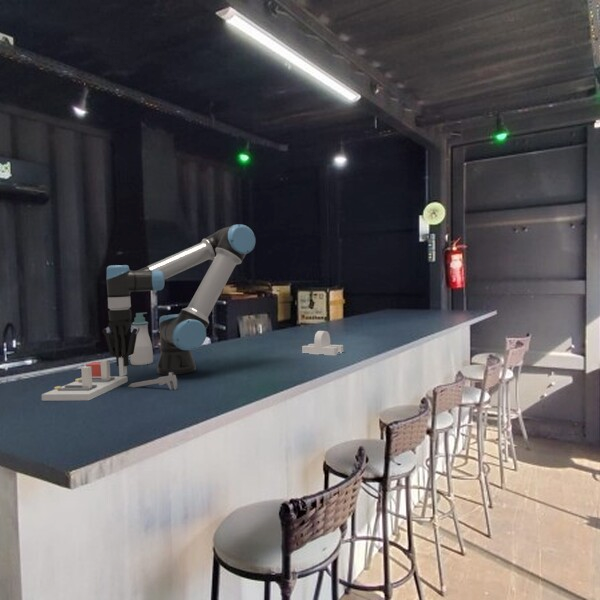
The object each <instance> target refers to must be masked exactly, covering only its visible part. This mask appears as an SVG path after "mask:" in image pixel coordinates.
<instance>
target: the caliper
mask: <svg viewBox="0 0 600 600" xmlns="http://www.w3.org/2000/svg"><path fill="white" fill-rule="evenodd" d="M156 384H158V386H162V385H166V384H167V386H168V388H169V390H170V391H173V390H174V391H177V389H178V379H177V375H174V373H173V372H170V373H169V375H164V376H160V377H157V378H155V379H149V380H143V381H137V382H133V383H130V384H129V385H128V386H127V387H131V388H138V387H143V386H149V385H156Z"/></svg>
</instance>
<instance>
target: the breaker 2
mask: <svg viewBox="0 0 600 600" xmlns="http://www.w3.org/2000/svg"><path fill="white" fill-rule="evenodd" d="M99 362H101V379H102V380H110V379H111V377H112V376H111V364H110V362H111V361H110V359H103V360H100V361H99Z"/></svg>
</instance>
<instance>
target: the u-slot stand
mask: <svg viewBox="0 0 600 600" xmlns="http://www.w3.org/2000/svg"><path fill="white" fill-rule="evenodd" d="M301 348H302V349H301V352H302V354H303V353H309V354H308V355H319V354H324V356H338V355H339V354H343V353H344V345H343V344H331V336H330V333H329V331H328V330H318V331H316V332H315V334H314V340H313V343H308V344H307V345H302V346H301ZM338 352H340V353H338ZM342 352H343V353H342ZM337 354H338V355H337Z"/></svg>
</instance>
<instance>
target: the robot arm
mask: <svg viewBox="0 0 600 600" xmlns="http://www.w3.org/2000/svg"><path fill="white" fill-rule="evenodd" d="M255 245H256V235H255V234H254V232H253V230H252V229H251V228H250V227H249V226H247V225H245V224H233V225H230V226H228V227H223V228H221V229H218V230H217V231H215V232H214V233H213V234H210V235H209V236H207V237H204V238H203V239H202V240H201V242H199V243H197V244H194V245H192V246H191V247H188V248H185V249H183V250H181V251H179V252H177V253H175V254H172V255H170V256H167V257H165V258H164V259H163V258H162V259H161V260H159V261H156V262H153V263H151V264H149V265H147V266H145V267H142V268H140V269H138V270H131V269H130V266H129V265H127V264H123V265H119V264H118V265H117V264H115V265H114V264H113V265H108V266H107V267H106V289H107V290H106V291H107V309H109V310H108V311H107V314H108V321H109V322H108V326H107V327H106V328H103V329H102V331H101V332H102V333H103V335H104V337H105V341H106V344H107V347H108V351H109V354H110V356H113V357H115V359H116V361H115V362H116V367H118V374H119V376H118V377H120V376H126V375H128V368H127V367H128V366H129V363H130V362H129V360H130V355H132V354H133V353H134V348H135V343H136V337H137V333H138V332H139V328H136V327H134V326H133V324H132V323H133V322H132V309H131V307H132V304H131V303H132V302H131V293H132V292H156V291H162V290H163V289H164V287H165V280H167V279H169V278H171V277H173V276H175V275H178V274H180V273H182V272H184V271H186V270H188V269H191V268H193V267H195V266H197V265H200V264H202V263H204V262H206V261H208V260H211V261H212V262H211V264H210V266H209V268H208V269H207V271H206V273H205V275H204V276H203V279H202V280H201V282H200V284H199V286H198V287H197V290H196V291H195V293H194V295H193V297H192V298H191V300H190V302H189V304H188V305H187V307H185V308H182V309H181V311H180V312H179V313H177V314H176V313H175V314H168V315H166V314H165V315H162V316H160V317H159V321H158V322H159V323H158V326H159V341H160V342H159V343H160V346H159V347H160V355H159V359H158V364H157V365H156V366H157V368H156V373H157V374H158V375H164V376H169V373H170V372H173V373H174V375H176V376H177V375H183V374H189V373H193V372H195V371H196V370H197V369H196V362H195V360H194V357H193V354H192V352H191V351H193V350H196V349H197V350H198V348H200V347H201V346H202V345H203V344H204V342H205V341H206V338H207V329H208V326H209V324H210V321H209V316H210V315H211V312H212V311H213V310H214V309H213V308H214V307H215V305H216V303H217V301H218V300H219V297H220V296H221V294H222V291H223V289H224V288H225V287H226V284H227V283H228V280H229V278H230V277H231V275H232V273H233V271H234V269H235V267H236V266H237V265H241V264H242V263H243V260H244V259H245V257H246V255H247V254H249V253H251V252H252V251H253V250H254V249H255ZM129 333H130V335H129ZM112 334H113V335H112Z"/></svg>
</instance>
